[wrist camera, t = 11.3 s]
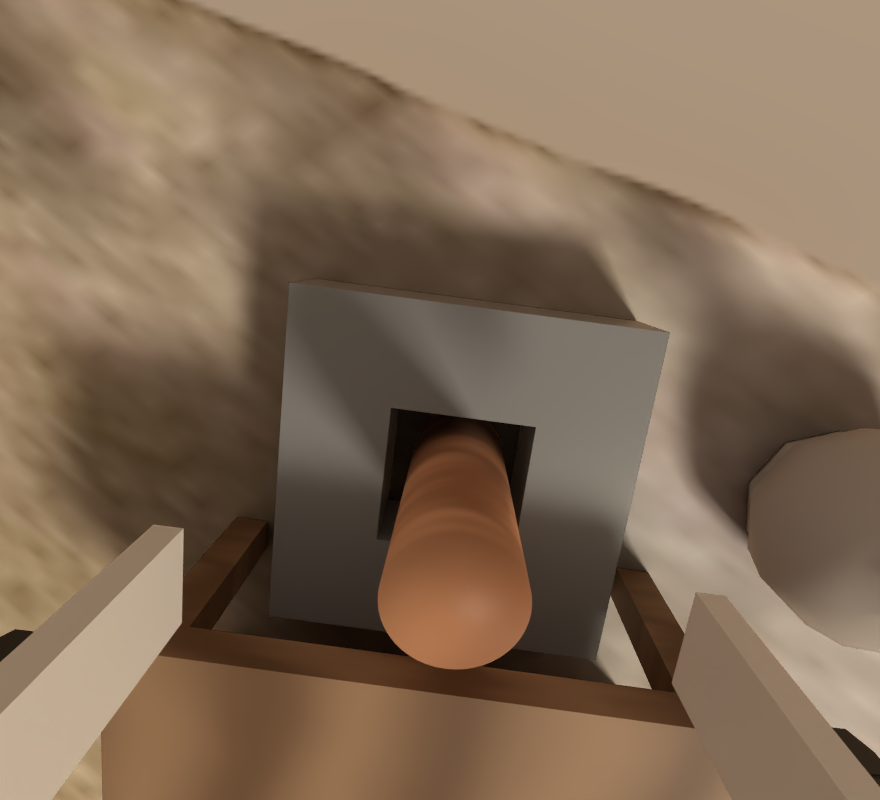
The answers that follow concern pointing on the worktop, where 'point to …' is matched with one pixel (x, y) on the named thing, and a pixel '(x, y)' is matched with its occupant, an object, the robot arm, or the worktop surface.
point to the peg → (455, 551)
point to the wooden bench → (393, 715)
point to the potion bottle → (822, 532)
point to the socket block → (470, 396)
